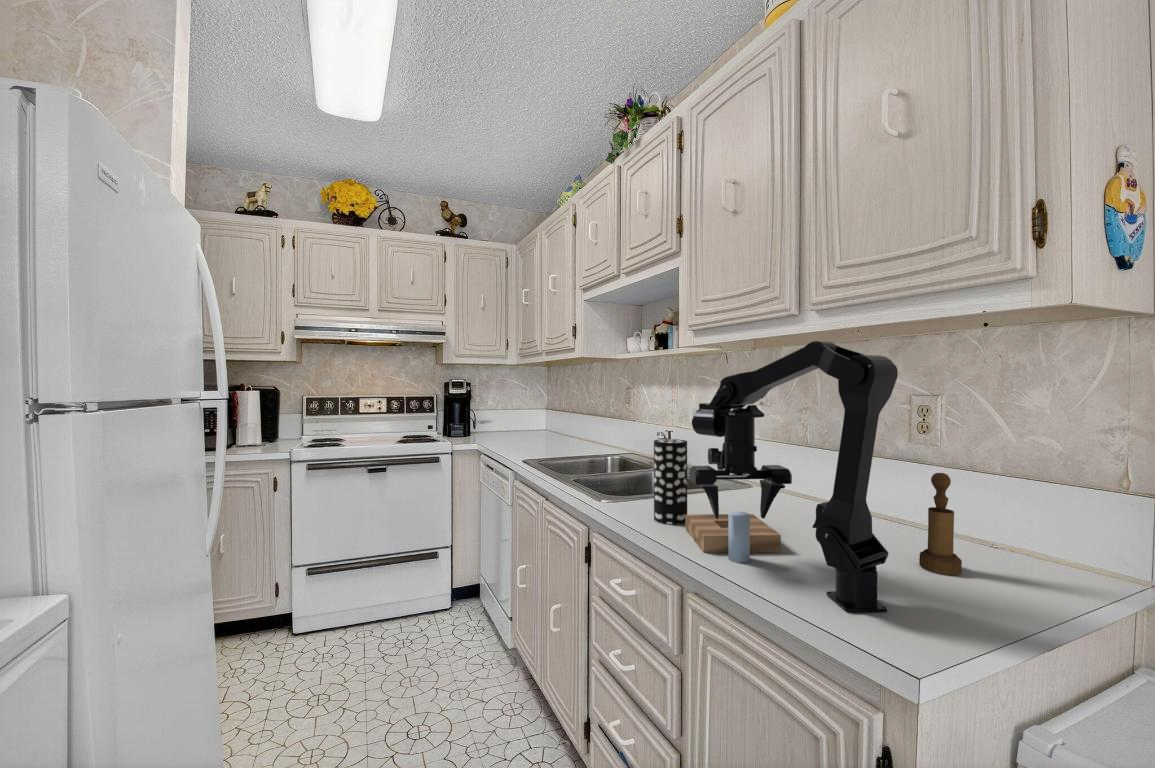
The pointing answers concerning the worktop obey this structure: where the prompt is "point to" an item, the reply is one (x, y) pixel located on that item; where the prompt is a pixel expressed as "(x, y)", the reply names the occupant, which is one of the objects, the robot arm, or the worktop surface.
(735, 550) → the peg
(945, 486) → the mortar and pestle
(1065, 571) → the worktop surface
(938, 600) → the worktop surface
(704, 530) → the socket board
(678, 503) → the spotted tube
